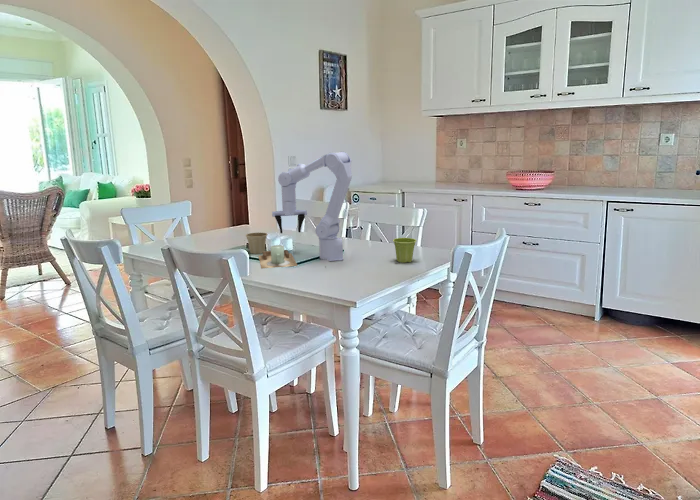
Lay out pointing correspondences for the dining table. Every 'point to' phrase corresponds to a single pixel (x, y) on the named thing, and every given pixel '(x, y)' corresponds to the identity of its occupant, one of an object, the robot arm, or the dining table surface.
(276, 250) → the sage green cylinder
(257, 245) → the flower pot
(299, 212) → the robot arm
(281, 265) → the board
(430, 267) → the dining table surface
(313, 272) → the dining table surface
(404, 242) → the plant pot
